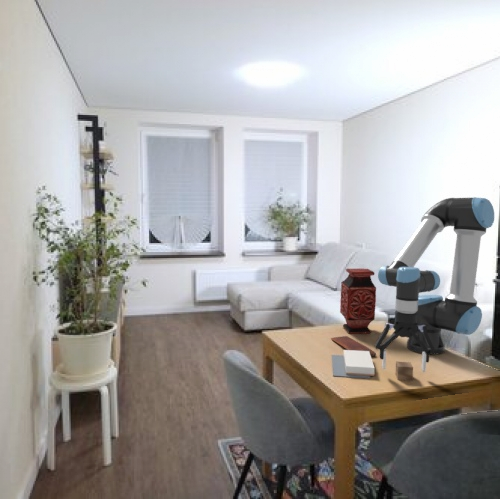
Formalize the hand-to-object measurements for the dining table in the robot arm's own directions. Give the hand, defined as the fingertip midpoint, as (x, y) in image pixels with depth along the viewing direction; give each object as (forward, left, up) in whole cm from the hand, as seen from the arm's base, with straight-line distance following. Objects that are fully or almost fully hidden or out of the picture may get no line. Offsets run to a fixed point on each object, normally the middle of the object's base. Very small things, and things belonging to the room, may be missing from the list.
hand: (403, 369), depth 156 cm
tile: (+10, -8, -1) cm, 13 cm away
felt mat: (+18, -8, -3) cm, 20 cm away
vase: (+12, -57, -3) cm, 59 cm away
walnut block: (0, 0, -3) cm, 3 cm away
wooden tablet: (+16, -31, -3) cm, 35 cm away
